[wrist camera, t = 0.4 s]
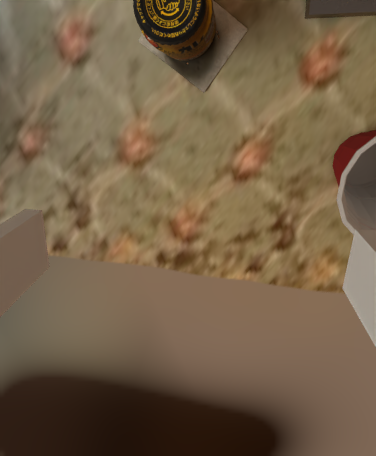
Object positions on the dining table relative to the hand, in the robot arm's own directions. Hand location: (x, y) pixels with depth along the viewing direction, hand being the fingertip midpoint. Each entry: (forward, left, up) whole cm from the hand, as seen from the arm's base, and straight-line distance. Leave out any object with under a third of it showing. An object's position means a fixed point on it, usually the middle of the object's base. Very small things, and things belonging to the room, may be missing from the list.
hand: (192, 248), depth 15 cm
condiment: (-11, -2, -27) cm, 30 cm away
